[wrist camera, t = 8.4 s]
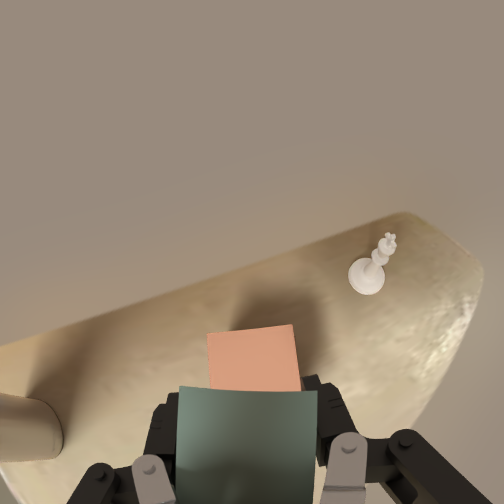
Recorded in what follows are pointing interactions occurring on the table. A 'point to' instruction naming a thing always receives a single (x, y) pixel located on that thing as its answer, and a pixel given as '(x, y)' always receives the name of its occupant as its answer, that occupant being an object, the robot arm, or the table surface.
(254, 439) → the green pillar block
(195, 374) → the table surface
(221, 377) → the terracotta top block
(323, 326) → the table surface
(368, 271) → the chess piece
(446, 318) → the table surface
